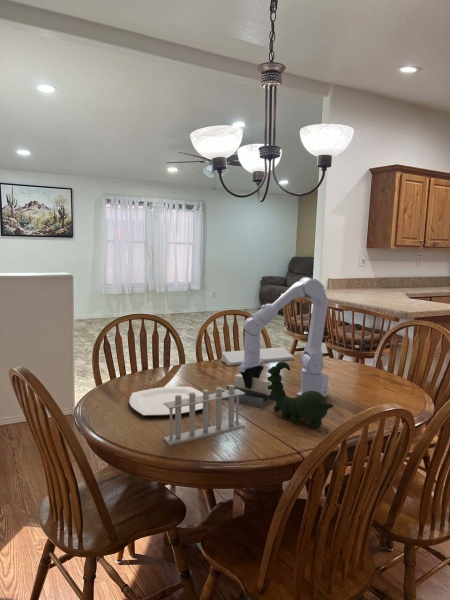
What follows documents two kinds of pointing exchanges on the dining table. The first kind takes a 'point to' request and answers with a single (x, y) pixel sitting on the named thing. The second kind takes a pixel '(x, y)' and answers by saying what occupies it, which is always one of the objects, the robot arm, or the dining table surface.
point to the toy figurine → (297, 400)
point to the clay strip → (253, 384)
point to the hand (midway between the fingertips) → (251, 386)
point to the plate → (161, 400)
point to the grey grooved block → (252, 397)
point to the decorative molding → (266, 354)
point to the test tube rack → (204, 415)
